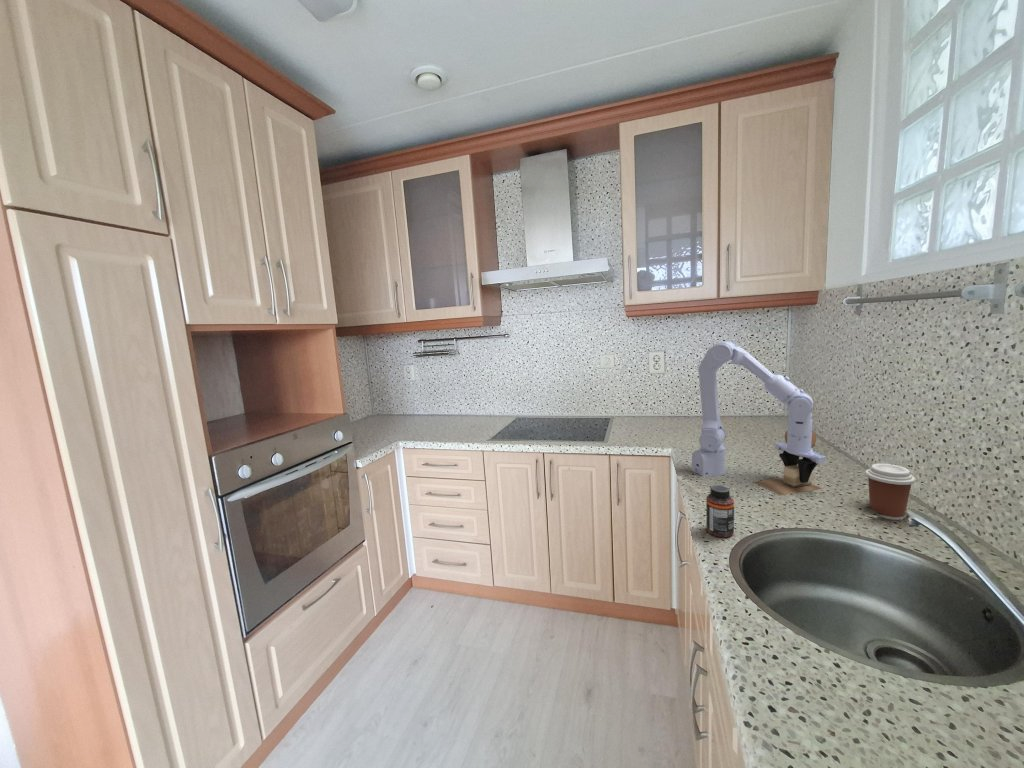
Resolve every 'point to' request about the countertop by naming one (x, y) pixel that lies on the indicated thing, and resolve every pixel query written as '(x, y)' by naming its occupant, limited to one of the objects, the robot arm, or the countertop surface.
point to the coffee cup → (889, 490)
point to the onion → (812, 438)
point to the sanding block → (794, 476)
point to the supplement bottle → (720, 512)
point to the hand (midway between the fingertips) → (797, 479)
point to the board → (784, 486)
